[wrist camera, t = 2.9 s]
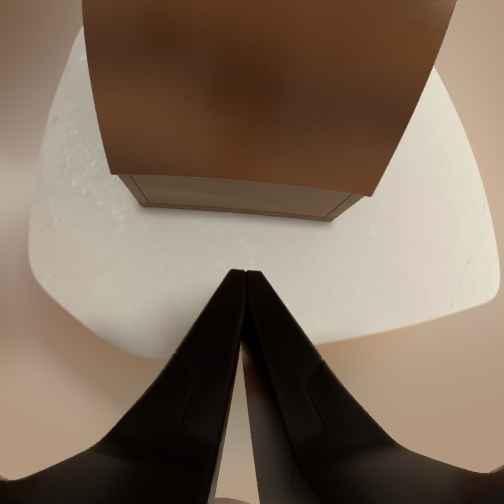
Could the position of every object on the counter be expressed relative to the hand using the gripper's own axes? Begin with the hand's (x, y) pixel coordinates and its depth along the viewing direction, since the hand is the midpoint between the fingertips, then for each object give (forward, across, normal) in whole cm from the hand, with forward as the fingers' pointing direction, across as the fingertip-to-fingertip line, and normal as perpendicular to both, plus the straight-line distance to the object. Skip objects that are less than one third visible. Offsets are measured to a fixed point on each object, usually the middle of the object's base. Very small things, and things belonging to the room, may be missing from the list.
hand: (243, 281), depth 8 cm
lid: (+6, 0, -6) cm, 8 cm away
